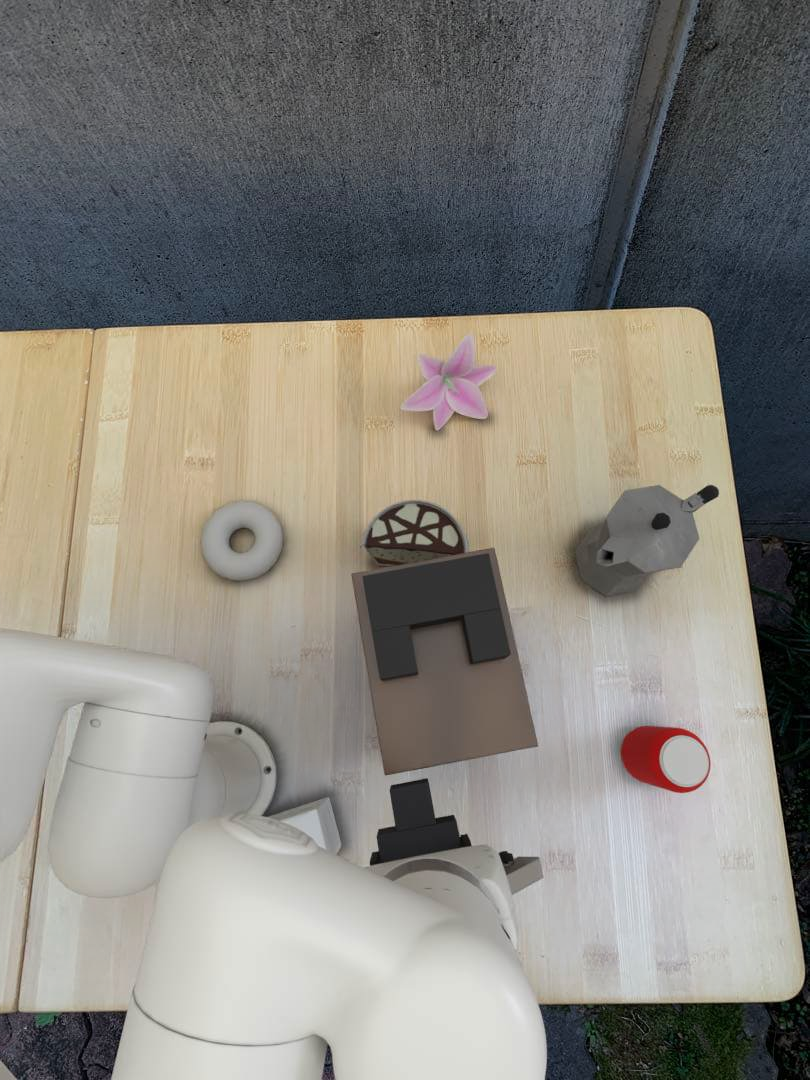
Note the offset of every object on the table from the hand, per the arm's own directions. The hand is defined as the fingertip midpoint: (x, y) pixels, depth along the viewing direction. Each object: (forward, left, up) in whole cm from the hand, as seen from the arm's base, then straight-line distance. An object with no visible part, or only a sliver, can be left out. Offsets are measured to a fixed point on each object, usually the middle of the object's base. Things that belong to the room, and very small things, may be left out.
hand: (423, 865), depth 51 cm
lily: (+10, +55, -24) cm, 61 cm away
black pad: (+4, +18, +1) cm, 18 cm away
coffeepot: (+29, +25, -26) cm, 46 cm away
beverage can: (+26, +2, -26) cm, 37 cm away
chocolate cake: (+5, +31, -26) cm, 41 cm away
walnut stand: (+4, +15, -26) cm, 30 cm away
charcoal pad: (0, +1, -1) cm, 2 cm away
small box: (-13, +1, -26) cm, 29 cm away
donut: (-16, +35, -26) cm, 46 cm away
